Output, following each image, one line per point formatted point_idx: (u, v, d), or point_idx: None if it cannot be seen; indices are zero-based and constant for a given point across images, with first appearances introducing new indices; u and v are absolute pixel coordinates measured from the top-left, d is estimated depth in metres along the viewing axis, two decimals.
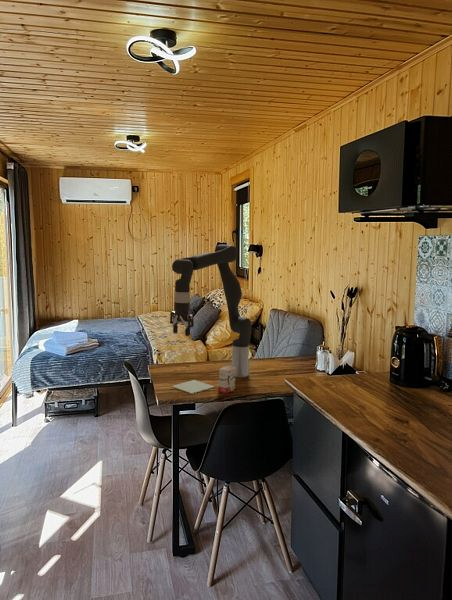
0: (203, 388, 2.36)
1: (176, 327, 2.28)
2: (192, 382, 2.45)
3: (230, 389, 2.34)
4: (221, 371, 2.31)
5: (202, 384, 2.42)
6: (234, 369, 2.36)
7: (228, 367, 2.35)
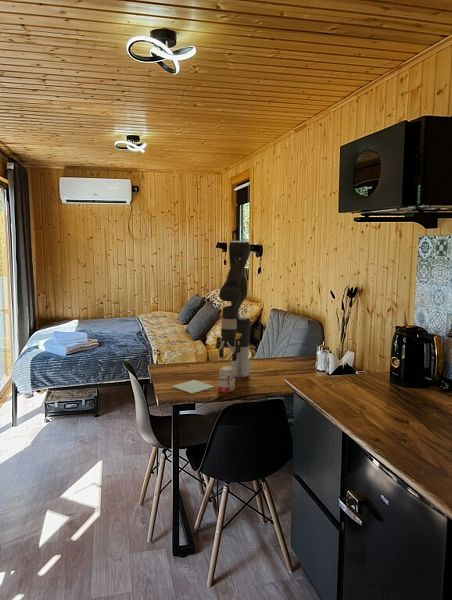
0: (203, 388, 2.36)
1: (222, 352, 2.36)
2: (192, 382, 2.45)
3: (230, 389, 2.34)
4: (221, 371, 2.31)
5: (202, 384, 2.42)
6: (234, 369, 2.36)
7: (228, 367, 2.35)
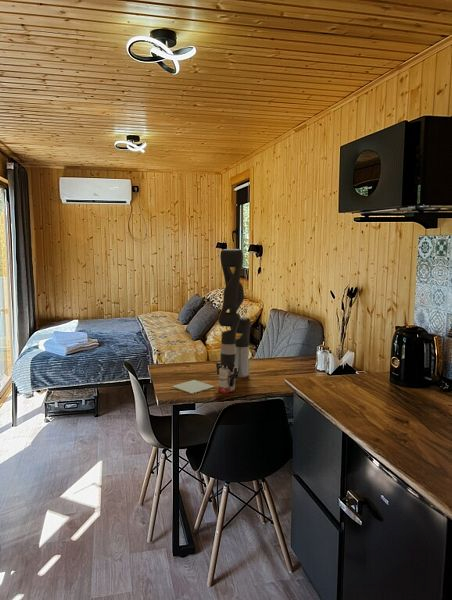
0: (203, 388, 2.36)
1: None
2: (192, 382, 2.45)
3: (230, 389, 2.34)
4: (221, 371, 2.31)
5: (202, 384, 2.42)
6: None
7: None
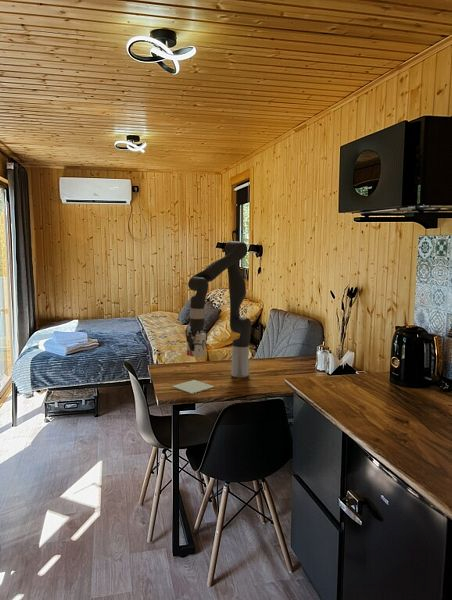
0: (203, 388, 2.36)
1: None
2: (192, 382, 2.45)
3: (192, 354, 2.34)
4: None
5: (202, 384, 2.42)
6: (199, 336, 2.32)
7: (199, 333, 2.35)
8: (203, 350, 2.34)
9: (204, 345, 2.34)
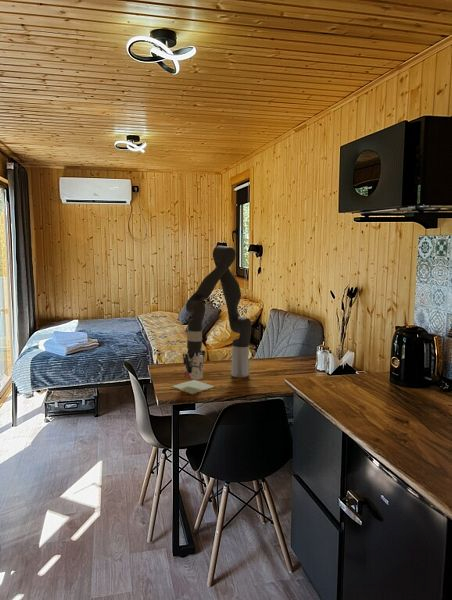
0: (203, 388, 2.36)
1: None
2: (192, 382, 2.45)
3: (190, 376, 2.36)
4: None
5: (202, 384, 2.42)
6: (196, 358, 2.33)
7: (196, 355, 2.36)
8: (200, 372, 2.36)
9: (201, 367, 2.36)
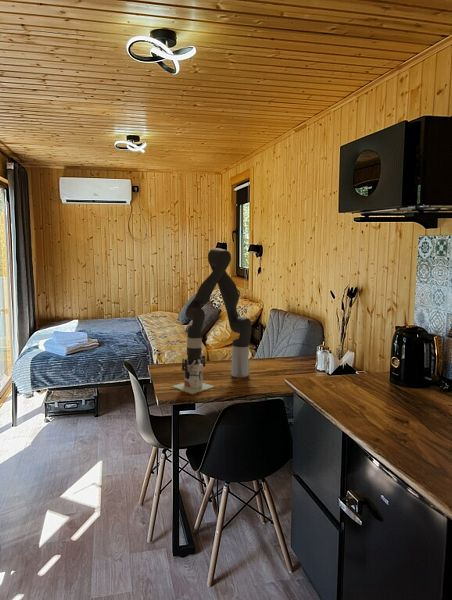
0: (203, 388, 2.36)
1: None
2: None
3: (190, 384, 2.37)
4: None
5: (202, 384, 2.42)
6: (195, 367, 2.34)
7: (196, 364, 2.37)
8: (200, 381, 2.36)
9: (201, 376, 2.36)
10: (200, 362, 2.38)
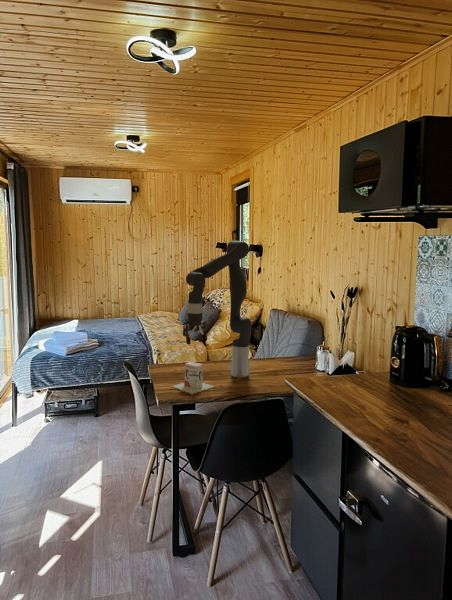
0: (203, 388, 2.36)
1: (200, 336, 2.41)
2: None
3: (190, 384, 2.37)
4: None
5: (202, 384, 2.42)
6: (195, 367, 2.34)
7: (196, 364, 2.37)
8: (200, 381, 2.36)
9: (201, 376, 2.36)
10: (201, 328, 2.39)
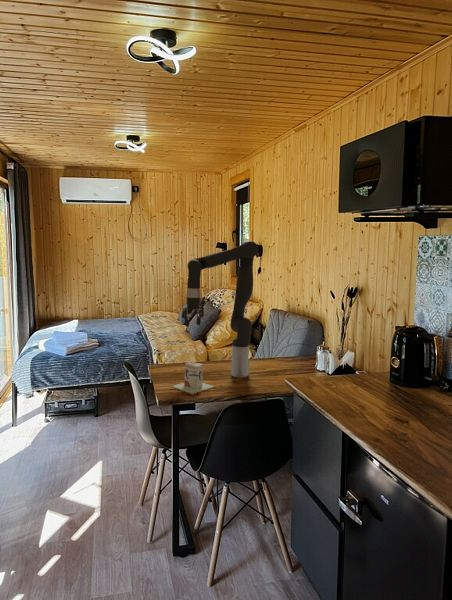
0: (203, 388, 2.36)
1: (198, 319, 2.59)
2: None
3: (190, 384, 2.37)
4: None
5: (202, 384, 2.42)
6: (195, 367, 2.34)
7: (196, 364, 2.37)
8: (200, 381, 2.36)
9: (201, 376, 2.36)
10: (199, 312, 2.57)
